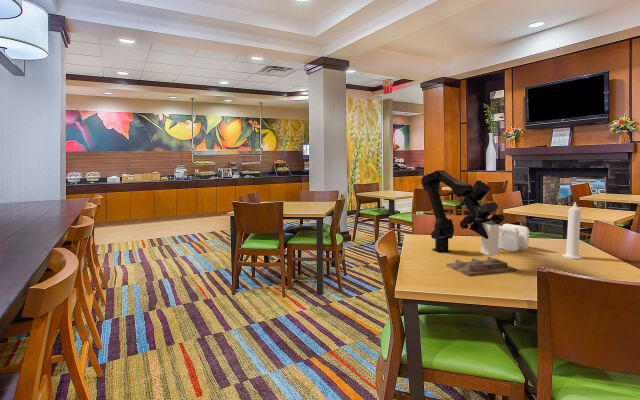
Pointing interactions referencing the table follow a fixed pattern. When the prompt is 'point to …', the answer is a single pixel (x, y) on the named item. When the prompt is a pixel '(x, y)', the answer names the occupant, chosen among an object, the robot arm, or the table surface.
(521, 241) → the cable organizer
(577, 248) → the candle
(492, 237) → the white tall block
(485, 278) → the table surface
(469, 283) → the table surface
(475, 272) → the comb rack
